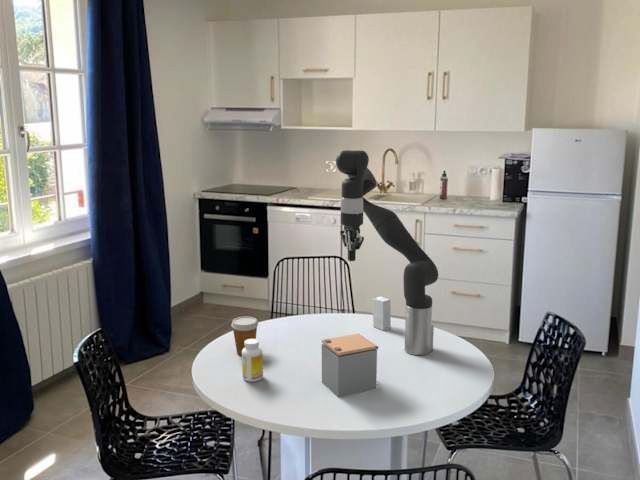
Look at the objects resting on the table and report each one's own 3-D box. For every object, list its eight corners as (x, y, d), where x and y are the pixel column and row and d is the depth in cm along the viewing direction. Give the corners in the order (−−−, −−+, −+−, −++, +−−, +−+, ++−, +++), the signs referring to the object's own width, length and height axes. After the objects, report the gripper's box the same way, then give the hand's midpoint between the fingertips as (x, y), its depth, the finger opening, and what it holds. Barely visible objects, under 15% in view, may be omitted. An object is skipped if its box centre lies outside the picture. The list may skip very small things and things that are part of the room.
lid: (360, 336, 211) (360, 332, 211) (378, 349, 201) (378, 344, 201) (321, 343, 205) (321, 338, 205) (338, 356, 195) (338, 351, 195)
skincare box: (391, 328, 254) (391, 299, 252) (383, 331, 252) (383, 301, 249) (380, 324, 259) (380, 295, 256) (371, 327, 256) (372, 297, 253)
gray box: (358, 374, 214) (358, 336, 211) (376, 388, 204) (377, 349, 201) (321, 382, 209) (321, 344, 205) (338, 397, 198) (338, 357, 195)
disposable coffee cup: (244, 345, 239) (243, 314, 236) (264, 350, 234) (263, 319, 231) (226, 353, 231) (225, 321, 229) (246, 359, 226) (245, 327, 223)
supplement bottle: (266, 375, 214) (265, 338, 211) (257, 383, 208) (256, 346, 205) (247, 372, 216) (246, 336, 213) (239, 380, 210) (237, 343, 207)
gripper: (333, 208, 221) (332, 257, 225) (351, 214, 209) (351, 266, 213) (352, 206, 224) (352, 254, 228) (371, 212, 212) (371, 264, 216)
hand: (351, 260), depth 220 cm, fingers closed
